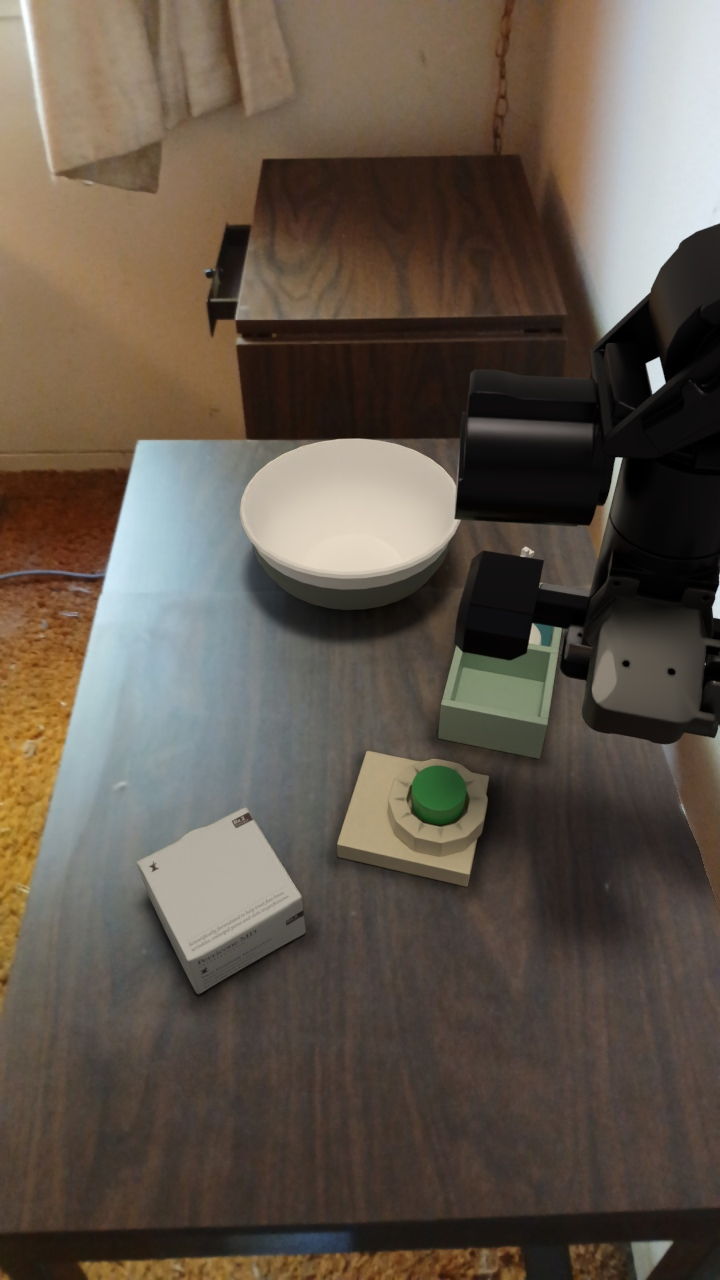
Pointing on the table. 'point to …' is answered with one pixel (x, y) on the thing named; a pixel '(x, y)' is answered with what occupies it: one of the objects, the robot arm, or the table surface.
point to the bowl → (350, 521)
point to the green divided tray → (501, 698)
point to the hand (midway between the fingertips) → (607, 725)
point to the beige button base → (410, 822)
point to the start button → (438, 794)
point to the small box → (222, 898)
